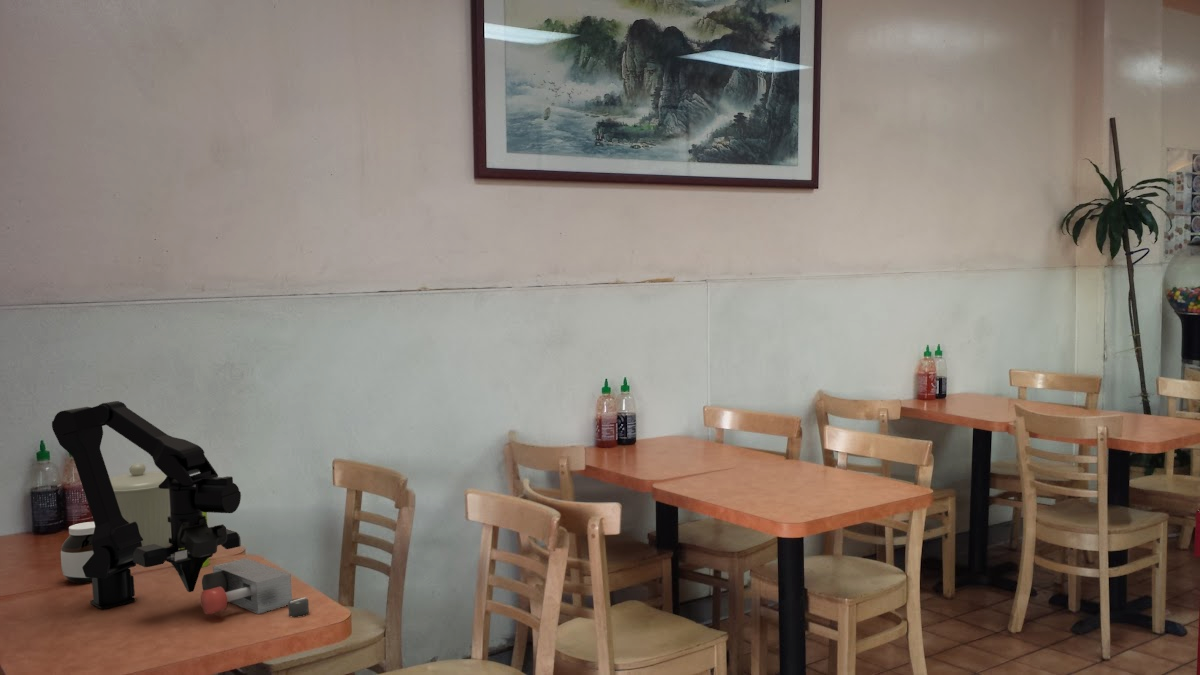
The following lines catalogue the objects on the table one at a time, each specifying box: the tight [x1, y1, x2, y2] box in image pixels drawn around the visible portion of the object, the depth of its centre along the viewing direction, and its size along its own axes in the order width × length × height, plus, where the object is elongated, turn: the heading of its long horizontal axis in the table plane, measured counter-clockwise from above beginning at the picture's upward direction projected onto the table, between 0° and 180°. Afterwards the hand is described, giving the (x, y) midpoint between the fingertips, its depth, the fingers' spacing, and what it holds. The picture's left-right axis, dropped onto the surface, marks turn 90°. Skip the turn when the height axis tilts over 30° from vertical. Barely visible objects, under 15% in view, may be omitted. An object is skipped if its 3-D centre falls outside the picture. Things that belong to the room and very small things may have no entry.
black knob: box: [201, 571, 227, 592], centre depth 198 cm, size 12×4×4 cm, turn 136°
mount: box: [212, 557, 293, 615], centre depth 195 cm, size 7×18×6 cm, turn 46°
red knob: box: [200, 586, 251, 615], centre depth 188 cm, size 12×4×4 cm, turn 136°
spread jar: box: [60, 521, 95, 584], centre depth 216 cm, size 12×11×12 cm
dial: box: [287, 596, 310, 618], centre depth 186 cm, size 4×4×3 cm
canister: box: [109, 462, 172, 547], centre depth 235 cm, size 18×18×21 cm
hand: (190, 591), depth 192 cm, fingers closed
